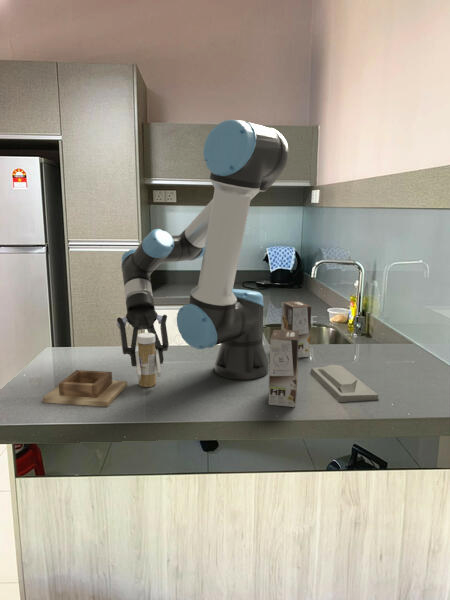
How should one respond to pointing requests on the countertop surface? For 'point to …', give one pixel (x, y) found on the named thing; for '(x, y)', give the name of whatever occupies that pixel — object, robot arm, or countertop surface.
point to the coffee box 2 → (283, 367)
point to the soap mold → (342, 384)
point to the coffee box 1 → (298, 323)
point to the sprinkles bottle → (147, 359)
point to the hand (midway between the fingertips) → (149, 375)
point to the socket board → (86, 389)
